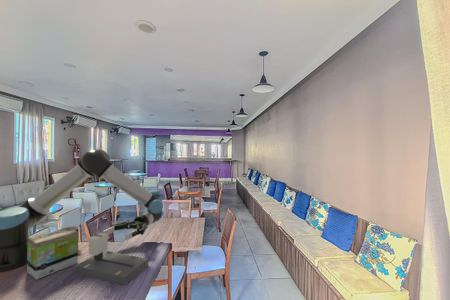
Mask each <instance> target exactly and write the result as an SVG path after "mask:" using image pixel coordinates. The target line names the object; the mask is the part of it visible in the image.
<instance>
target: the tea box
mask: <svg viewBox="0 0 450 300" xmlns="http://www.w3.org/2000/svg"><path fill="white" fill-rule="evenodd" d="M66 227H67V228H65V227H63V228H64V229H62V228H60V230H59V229H57V230H53V231H49V232H46V233H41V234H38V235H34V236H29V238H28V252H27V263H26V272H27V274H29V275H30V276H31V277H32V278H34V279H35V280H37V281H38V280H40V279H41V278H43V277H46V276H49V275H51V274H53V273H56V272H59V271H61V270H63V269H66V268H69V267H71V266H75V265H78V261H79V230H78V231H75V230H73V229H71V228H69V227H70V226H66Z"/></svg>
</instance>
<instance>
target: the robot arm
mask: <svg viewBox="0 0 450 300" xmlns="http://www.w3.org/2000/svg"><path fill="white" fill-rule="evenodd" d="M114 165H115V164H114V163H113V162H112V161H111V160H110V155H109V154H108V153H107V152H106V151H105V150H103V149H101V148H96V149H91V150H88V151H86V152H85V153H84V154H83V155H82V157H81V158H80V159H78V160H77V161H76V165H75V166H74V167H73V168H72V169H70V170H69V171H68V172H67V173H65V174H63V175H62V176H61V177H60V178H59V179H57V180H56V181H55V182H54V183H52V184H51V185H50V186H49V187H48V188H46V189H45V190H43V191H42V192H41V193H40V194H38V195H36V196H35V197H30V198H28V199H27V200H26V201H23V202H22V203H21V204H20V205H19V206H18V207H16V206H15V207H11V208H10V207H9V208H7V209H3V210H0V272H2V273H3V272H6V271H11V270H13V269H16V268H19V267H22V266H24V265H27V252H28V238H30V235H29V233H30V232H29V231H30V229H31V228H32V227H34V226H35V225H36V224H38V223H40V222H41V221H42V219H43V218H45V217H46V216H47V215H48V214H50V209H51V208H52V207H54V206H55V205H56V204H57V203H59V202H60V201H61V200H62V199H64V198H65V197H66V196H67V195H68V194H69V193H72V191H73V190H74V189H76V188H77V187H79V185H81V184H82V183H83V182H85V181H86V180H87V179H89V178H93V177H97V178H99V179H100V180H101V179H103V180H105V181H106V182H108V183H110V185H112V186H114V187H116V188H117V189H118V190H120V191H121V192H123V193H124V194H126V195H127V196H129V197H130V198H132V199H133V200H135V201H136V202H138V203H139V204H141V205H142V206H144V207H145V208H146V209H147V211H146V212H144V213H142V214H140V215H138V216H136V217H135V218H134V219H133V220H131V221H130V220H125V221H122V222H118V223H113V224H110V226H109V227H108V228H107V229H104V230H102V233H106V234H108V235H111V234H112V233H113V234H114V232H115V231H121V230H131V229H132V231H129V232H128V233H126V234H125V241H129V240H131V239H132V238H134V237H136V236H139V235H141V236H143V235H144V234H145V232H146V230H147V229H148V227H149V226H150V225H153V224H155V223H156V222H158V221H160V220H161V219H162V218H163V217H164V211H163V208H164V202H163V201H162V198H161V190H159V189H150V190H147V189H146V188H144V187H143V186H142V185H141V184H139V183H138V182H136V181H135V180H133V179H132V178H130V177H129V176H128V175H126V174H125V173H124V172H122V171H121V170H119V169H118V168H117V167H115V166H114Z"/></svg>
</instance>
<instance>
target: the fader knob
mask: <svg viewBox="0 0 450 300" xmlns="http://www.w3.org/2000/svg"><path fill="white" fill-rule="evenodd" d="M108 236H109V234H106V233H103V232H99V233H97V234H94V235H92V236H90V237H89V238H88V255H91V256H94V259H95V260H99V259H101V258H103V251H108V249H109V248H108V247H109V246H108V245H109V243H108V241H109V239H108V238H109V237H108Z"/></svg>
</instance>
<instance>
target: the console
mask: <svg viewBox="0 0 450 300" xmlns="http://www.w3.org/2000/svg"><path fill="white" fill-rule="evenodd" d="M147 267H149V258H146V257H139V256H136V255H129V254H126V253H125V254H124V253H119V252H113V251H109V250H105V251H103V258H101V259H99V260H95V259H94V255H92V256H91V257H89V258H88V259H85V260H83V261H82V262H80V263H79V264H78V263H77V264H75V274H79V275H82V276H87V277H91V278H95V279H98V280H103V281H107V282H110V283H115V284H117V285H118V284H119V285H123V286H125V285H128V283H129V282H131V281H132V280H133V279H134V278H135V277H136V276H138V275H139V274H140V273H141V272H143V271H144V270H145V269H146V268H147Z"/></svg>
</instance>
